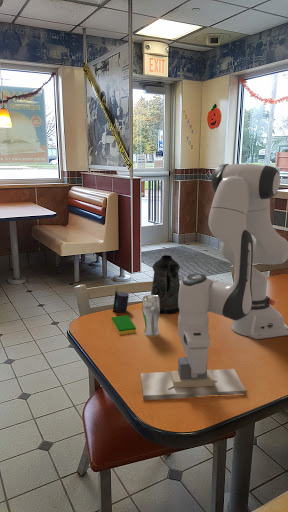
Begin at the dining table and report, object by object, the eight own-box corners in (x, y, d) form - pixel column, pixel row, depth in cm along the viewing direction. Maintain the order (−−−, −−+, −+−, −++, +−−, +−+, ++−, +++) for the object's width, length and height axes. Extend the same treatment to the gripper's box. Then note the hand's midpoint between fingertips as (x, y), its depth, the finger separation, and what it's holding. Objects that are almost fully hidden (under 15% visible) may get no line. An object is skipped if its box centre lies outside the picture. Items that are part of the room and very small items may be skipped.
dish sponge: (127, 320, 167) (127, 314, 167) (136, 333, 155) (136, 327, 154) (111, 322, 165) (111, 316, 165) (119, 335, 153) (118, 330, 152)
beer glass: (158, 337, 150) (158, 301, 146) (141, 336, 151) (140, 300, 148) (161, 329, 156) (161, 295, 153) (144, 328, 158) (144, 294, 154)
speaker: (108, 311, 176) (110, 289, 173) (114, 307, 181) (116, 286, 178) (123, 315, 173) (125, 293, 170) (128, 311, 178) (131, 290, 176)
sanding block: (209, 374, 120) (209, 354, 119) (213, 385, 114) (214, 364, 113) (171, 376, 119) (171, 356, 118) (173, 387, 114) (174, 366, 112)
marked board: (233, 373, 124) (233, 368, 124) (245, 395, 113) (245, 390, 112) (140, 377, 122) (140, 372, 122) (143, 400, 111) (143, 395, 110)
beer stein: (165, 299, 191) (165, 250, 185) (196, 309, 177) (197, 257, 171) (141, 307, 180) (140, 256, 174) (171, 319, 166) (171, 264, 160)
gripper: (176, 315, 123) (176, 355, 126) (188, 345, 103) (187, 391, 106) (196, 314, 123) (195, 354, 126) (211, 344, 103) (210, 390, 107)
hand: (192, 371), depth 116 cm, fingers closed on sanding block, 4 cm apart
